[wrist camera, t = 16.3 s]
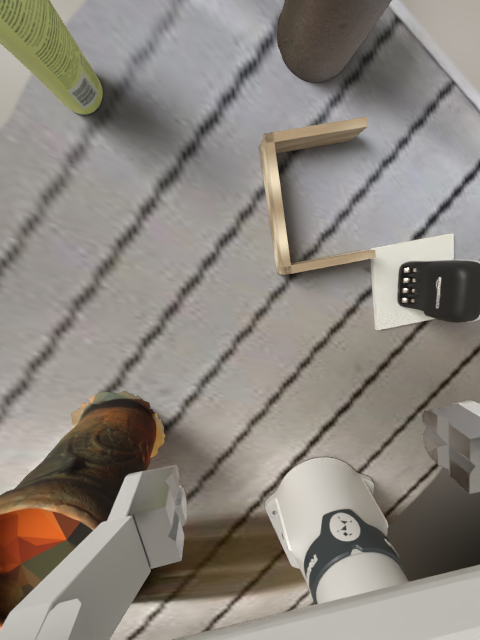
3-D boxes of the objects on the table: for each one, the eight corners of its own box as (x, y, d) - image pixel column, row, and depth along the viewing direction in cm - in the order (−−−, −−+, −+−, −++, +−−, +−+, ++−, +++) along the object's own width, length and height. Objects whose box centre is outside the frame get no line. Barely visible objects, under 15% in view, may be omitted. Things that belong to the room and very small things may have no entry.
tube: (47, 71, 32) (-206, -211, 13) (87, 52, 32) (-105, -258, 13) (73, 123, 33) (-119, -60, 14) (112, 106, 33) (-27, -102, 14)
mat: (450, 314, 42) (453, 315, 42) (375, 329, 42) (377, 330, 41) (450, 233, 40) (453, 233, 39) (369, 248, 39) (371, 248, 39)
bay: (359, 257, 39) (375, 257, 35) (277, 273, 39) (284, 275, 35) (350, 132, 36) (366, 116, 32) (258, 147, 35) (264, 133, 31)
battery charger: (393, 260, 39) (463, 261, 28) (418, 258, 40) (498, 259, 28) (390, 309, 41) (456, 328, 30) (415, 307, 41) (489, 325, 30)
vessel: (77, 480, 43) (-37, 658, 24) (60, 394, 40) (-85, 516, 21) (171, 470, 44) (137, 632, 25) (161, 386, 41) (114, 494, 22)
